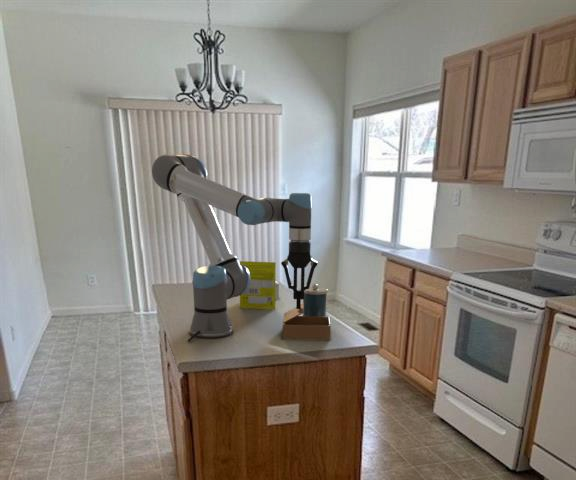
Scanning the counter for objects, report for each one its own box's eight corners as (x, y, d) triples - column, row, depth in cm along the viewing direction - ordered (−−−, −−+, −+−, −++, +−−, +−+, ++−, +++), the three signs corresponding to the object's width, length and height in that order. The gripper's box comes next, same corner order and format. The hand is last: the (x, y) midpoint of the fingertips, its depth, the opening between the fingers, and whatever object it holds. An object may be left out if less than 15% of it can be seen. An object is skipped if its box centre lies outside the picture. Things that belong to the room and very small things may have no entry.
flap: (283, 323, 187) (282, 322, 187) (284, 314, 199) (284, 313, 199) (303, 312, 186) (303, 311, 185) (304, 304, 197) (303, 303, 197)
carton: (282, 339, 189) (282, 324, 187) (283, 329, 201) (284, 315, 199) (329, 340, 189) (330, 326, 187) (328, 330, 201) (329, 316, 199)
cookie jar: (316, 329, 202) (317, 287, 196) (296, 324, 208) (297, 283, 202) (331, 324, 209) (333, 283, 203) (311, 320, 214) (313, 280, 208)
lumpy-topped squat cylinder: (280, 299, 246) (280, 281, 243) (252, 300, 243) (252, 281, 240) (275, 294, 256) (275, 276, 253) (248, 295, 253) (248, 277, 250)
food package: (275, 309, 230) (275, 262, 223) (274, 309, 229) (275, 262, 222) (240, 307, 232) (239, 260, 224) (239, 308, 231) (239, 261, 223)
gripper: (318, 239, 186) (316, 306, 195) (281, 239, 186) (280, 305, 195) (319, 242, 179) (316, 311, 188) (280, 241, 179) (279, 310, 188)
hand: (298, 308), depth 191 cm, fingers closed
